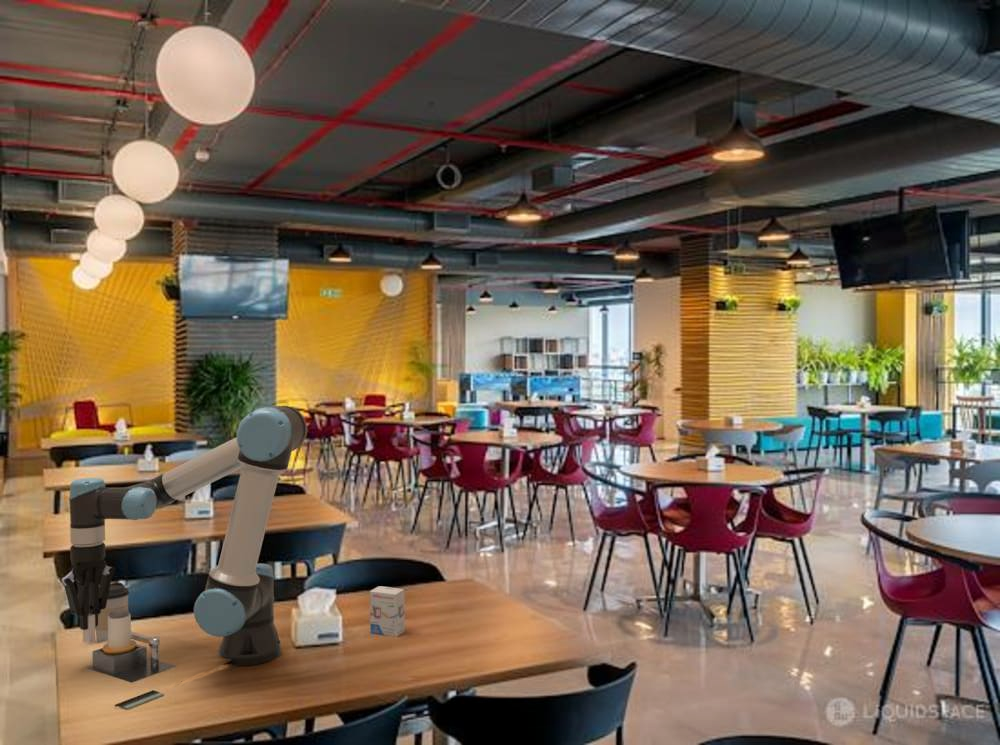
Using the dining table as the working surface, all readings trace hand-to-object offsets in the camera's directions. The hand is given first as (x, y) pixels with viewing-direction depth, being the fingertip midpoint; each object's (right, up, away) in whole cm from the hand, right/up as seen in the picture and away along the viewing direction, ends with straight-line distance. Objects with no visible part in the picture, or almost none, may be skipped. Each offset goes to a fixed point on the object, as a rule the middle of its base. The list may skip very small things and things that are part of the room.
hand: (89, 641), depth 201 cm
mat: (+18, -7, -16) cm, 25 cm away
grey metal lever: (+10, 0, +3) cm, 10 cm away
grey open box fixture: (+11, -7, -1) cm, 13 cm away
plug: (+7, -6, 0) cm, 9 cm away
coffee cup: (-5, -7, +22) cm, 23 cm away
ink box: (+68, -7, +28) cm, 74 cm away
